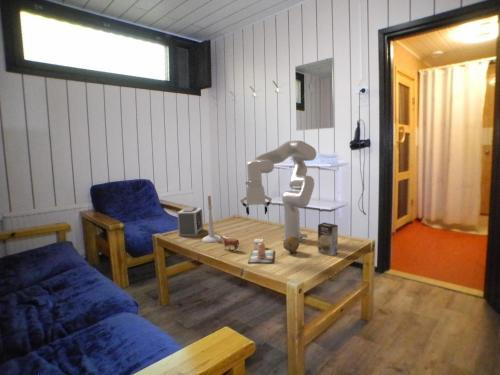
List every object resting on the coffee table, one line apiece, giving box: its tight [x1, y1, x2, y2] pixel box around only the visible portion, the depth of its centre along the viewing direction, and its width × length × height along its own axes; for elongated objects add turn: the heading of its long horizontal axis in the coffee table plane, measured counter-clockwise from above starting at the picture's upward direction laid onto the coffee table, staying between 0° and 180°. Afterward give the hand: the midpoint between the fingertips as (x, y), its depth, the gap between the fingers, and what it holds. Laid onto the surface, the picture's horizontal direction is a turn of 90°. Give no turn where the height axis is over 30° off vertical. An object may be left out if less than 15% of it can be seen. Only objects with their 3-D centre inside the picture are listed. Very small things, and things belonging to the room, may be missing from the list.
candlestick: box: [201, 195, 222, 244], centre depth 201 cm, size 13×13×30 cm
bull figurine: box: [220, 234, 240, 253], centre depth 181 cm, size 4×13×8 cm, turn 51°
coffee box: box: [317, 222, 339, 257], centre depth 168 cm, size 9×6×16 cm
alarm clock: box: [176, 207, 204, 237], centre depth 222 cm, size 18×13×18 cm
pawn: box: [257, 242, 266, 259], centre depth 164 cm, size 5×5×8 cm
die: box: [253, 238, 264, 250], centre depth 182 cm, size 5×5×5 cm
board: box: [247, 249, 275, 264], centre depth 167 cm, size 13×18×1 cm
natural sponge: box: [282, 235, 300, 254], centre depth 171 cm, size 9×9×10 cm
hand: (257, 214), depth 170 cm, fingers open, 9 cm apart
